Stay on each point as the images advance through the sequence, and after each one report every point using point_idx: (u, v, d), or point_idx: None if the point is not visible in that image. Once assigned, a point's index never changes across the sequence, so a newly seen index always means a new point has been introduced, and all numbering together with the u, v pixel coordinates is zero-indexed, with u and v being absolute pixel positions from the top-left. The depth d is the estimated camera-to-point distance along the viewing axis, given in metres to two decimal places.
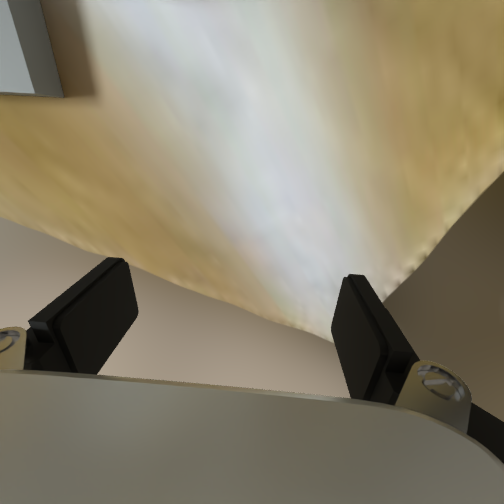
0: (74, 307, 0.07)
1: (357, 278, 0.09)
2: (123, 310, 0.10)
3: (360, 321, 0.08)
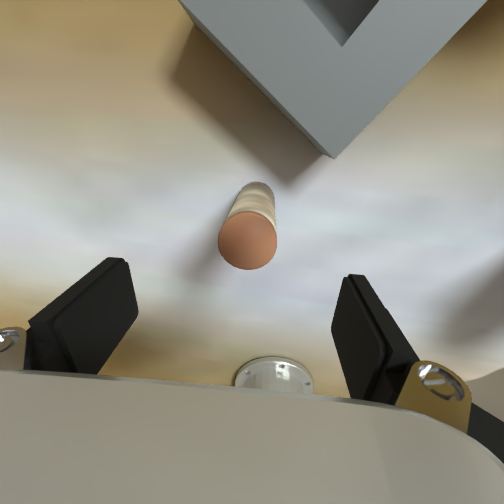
0: (74, 307, 0.07)
1: (357, 278, 0.09)
2: (123, 310, 0.10)
3: (360, 321, 0.08)
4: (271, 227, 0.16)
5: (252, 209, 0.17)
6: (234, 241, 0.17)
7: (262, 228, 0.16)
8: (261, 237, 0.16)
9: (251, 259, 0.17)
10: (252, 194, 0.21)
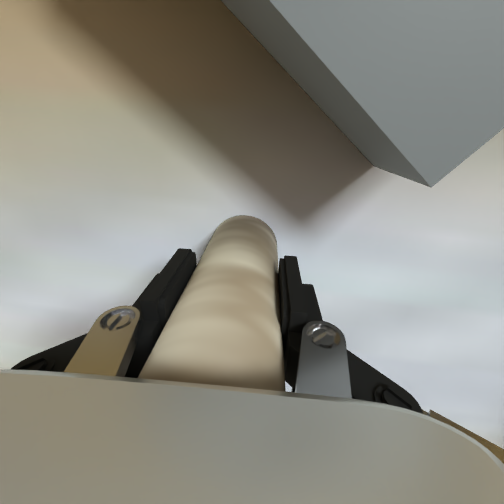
0: (170, 290, 0.08)
1: (288, 258, 0.10)
2: None
3: (281, 293, 0.09)
4: None
5: None
6: None
7: None
8: None
9: None
10: (226, 269, 0.09)
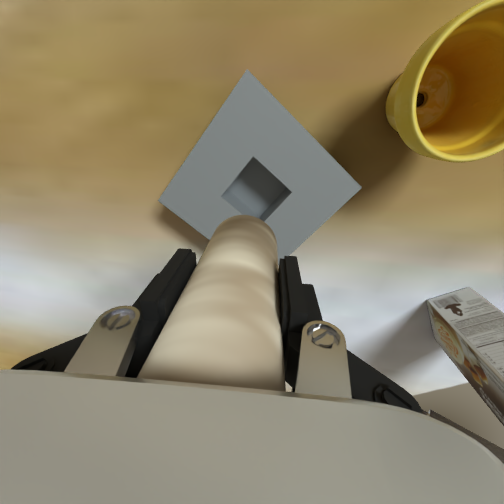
0: (170, 290, 0.08)
1: (288, 258, 0.10)
2: None
3: (281, 293, 0.09)
4: None
5: None
6: None
7: None
8: None
9: None
10: (226, 268, 0.09)
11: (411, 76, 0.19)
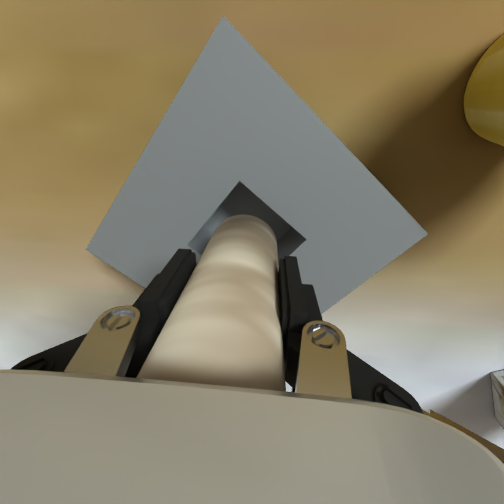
0: (170, 290, 0.08)
1: (288, 258, 0.10)
2: None
3: (281, 293, 0.09)
4: None
5: None
6: None
7: None
8: None
9: None
10: (226, 268, 0.09)
11: None
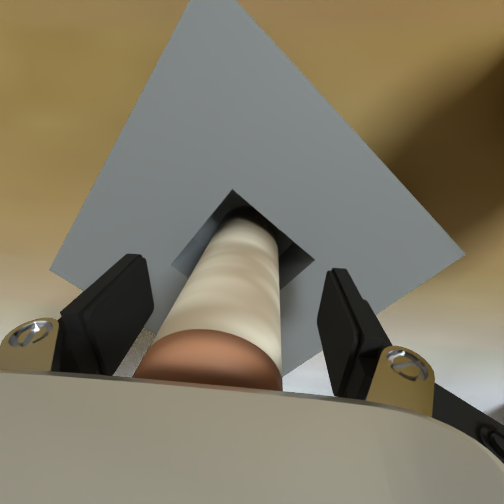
0: (101, 300, 0.08)
1: (339, 271, 0.10)
2: (141, 304, 0.10)
3: (339, 311, 0.08)
4: (268, 387, 0.06)
5: (218, 317, 0.06)
6: None
7: None
8: None
9: None
10: (233, 245, 0.11)
11: None
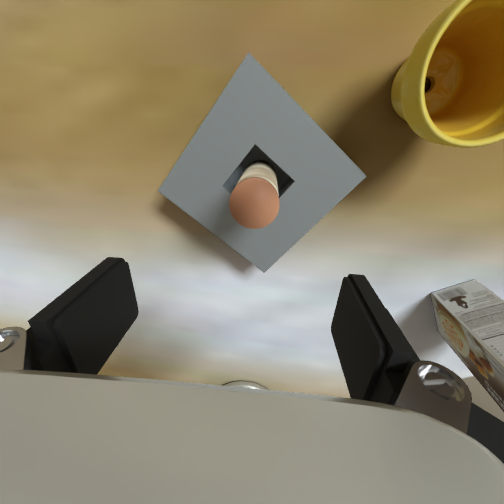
0: (74, 307, 0.07)
1: (357, 278, 0.09)
2: (123, 310, 0.10)
3: (360, 321, 0.08)
4: (274, 190, 0.19)
5: (258, 176, 0.20)
6: (243, 203, 0.19)
7: (267, 191, 0.19)
8: (266, 199, 0.19)
9: (257, 219, 0.20)
10: (257, 167, 0.24)
11: (420, 56, 0.18)
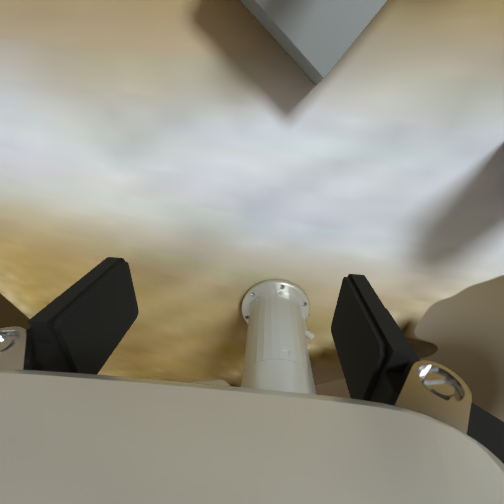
0: (74, 307, 0.07)
1: (357, 278, 0.09)
2: (123, 310, 0.10)
3: (360, 321, 0.08)
4: None
5: None
6: None
7: None
8: None
9: None
10: None
11: None
